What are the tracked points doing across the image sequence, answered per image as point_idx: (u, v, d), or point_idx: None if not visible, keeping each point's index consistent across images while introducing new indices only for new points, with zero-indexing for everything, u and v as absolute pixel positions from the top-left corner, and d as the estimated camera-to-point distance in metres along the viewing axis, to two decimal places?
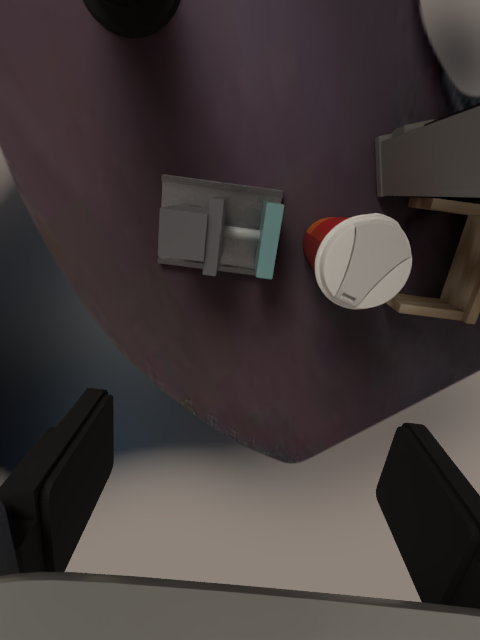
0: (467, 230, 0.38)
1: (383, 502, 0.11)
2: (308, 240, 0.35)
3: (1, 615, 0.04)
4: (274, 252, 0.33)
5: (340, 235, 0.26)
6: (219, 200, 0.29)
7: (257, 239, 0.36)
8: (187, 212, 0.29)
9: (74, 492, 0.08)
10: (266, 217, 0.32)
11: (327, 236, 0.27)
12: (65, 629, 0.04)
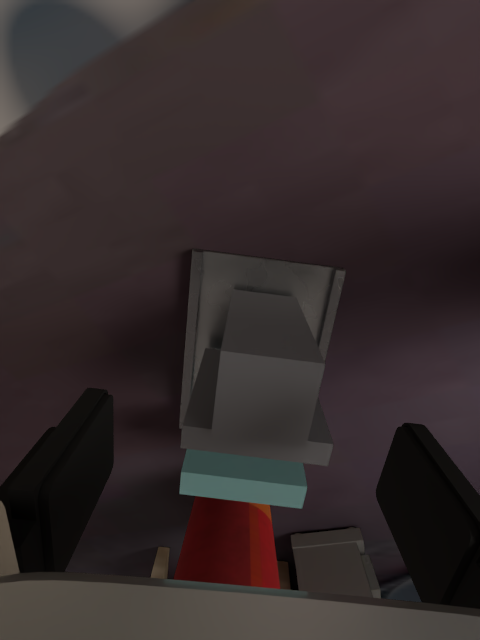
0: None
1: (383, 502, 0.11)
2: (241, 507, 0.23)
3: (0, 616, 0.04)
4: (225, 496, 0.19)
5: None
6: (327, 459, 0.15)
7: None
8: (311, 413, 0.14)
9: (74, 492, 0.08)
10: (283, 486, 0.19)
11: None
12: (65, 629, 0.04)
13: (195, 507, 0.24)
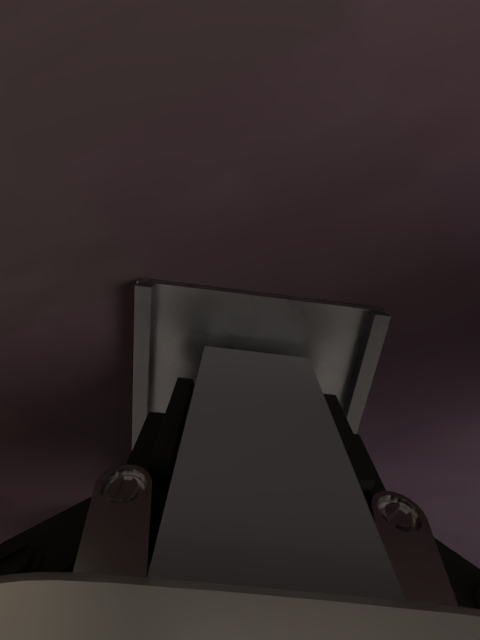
0: None
1: None
2: None
3: (0, 616, 0.04)
4: None
5: None
6: None
7: None
8: None
9: None
10: None
11: None
12: (65, 629, 0.04)
13: None
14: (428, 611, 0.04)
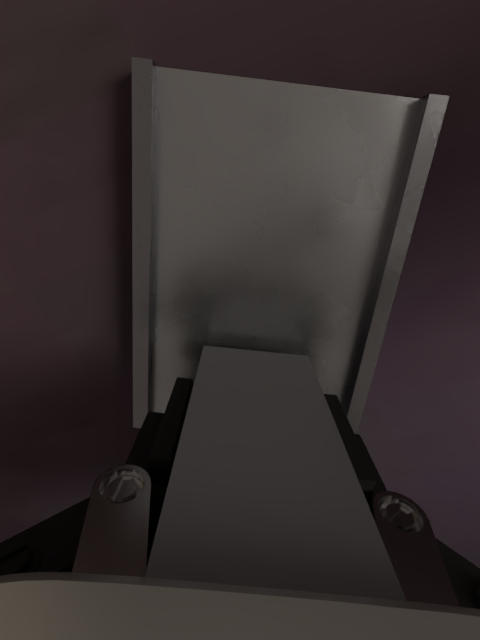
0: None
1: None
2: None
3: (1, 615, 0.04)
4: None
5: None
6: None
7: None
8: None
9: None
10: None
11: None
12: (65, 629, 0.04)
13: None
14: (428, 611, 0.04)
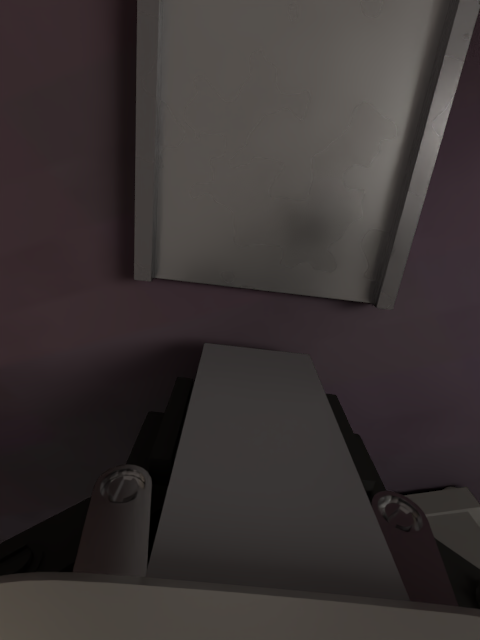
0: None
1: None
2: None
3: (0, 616, 0.04)
4: None
5: None
6: None
7: None
8: None
9: None
10: None
11: None
12: (65, 629, 0.04)
13: None
14: (428, 611, 0.04)
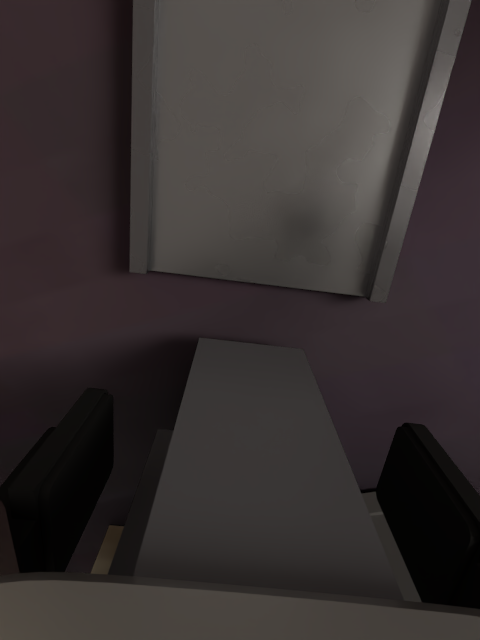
0: None
1: (383, 502, 0.11)
2: None
3: (0, 615, 0.04)
4: None
5: None
6: None
7: None
8: None
9: (74, 492, 0.08)
10: None
11: None
12: (65, 629, 0.04)
13: None
14: (428, 611, 0.04)
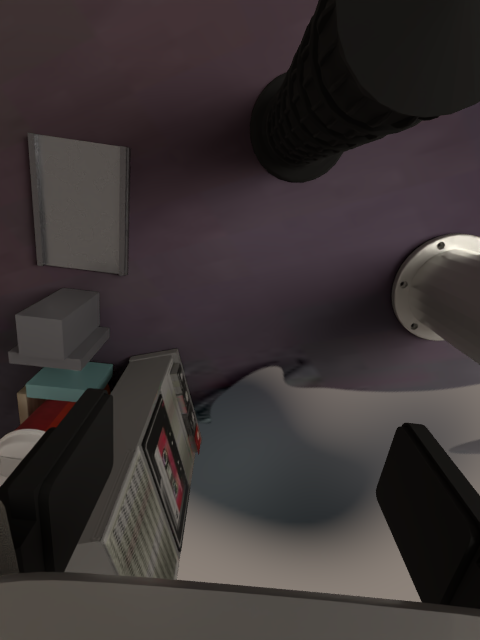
0: None
1: (383, 502, 0.11)
2: None
3: (0, 616, 0.04)
4: (52, 398, 0.37)
5: None
6: (79, 367, 0.33)
7: None
8: (62, 343, 0.31)
9: (74, 492, 0.08)
10: (81, 391, 0.36)
11: None
12: (65, 629, 0.04)
13: None
14: (428, 611, 0.04)
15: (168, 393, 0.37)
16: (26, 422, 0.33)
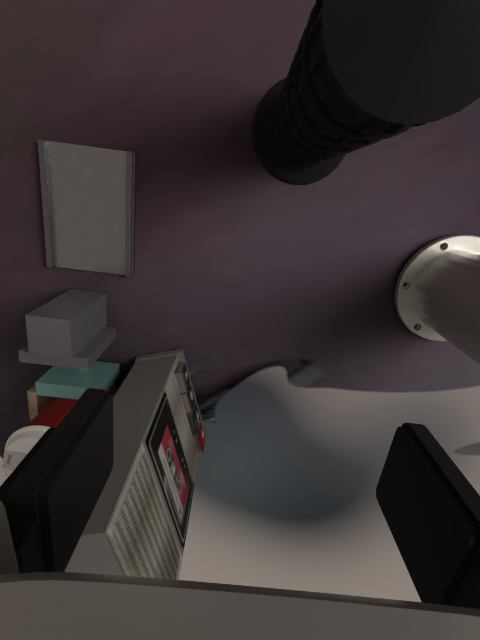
0: None
1: (383, 502, 0.11)
2: None
3: None
4: (60, 396, 0.38)
5: None
6: (87, 366, 0.34)
7: None
8: (70, 343, 0.32)
9: (74, 492, 0.08)
10: None
11: None
12: (65, 629, 0.04)
13: None
14: (428, 611, 0.04)
15: (173, 392, 0.38)
16: (35, 419, 0.34)
